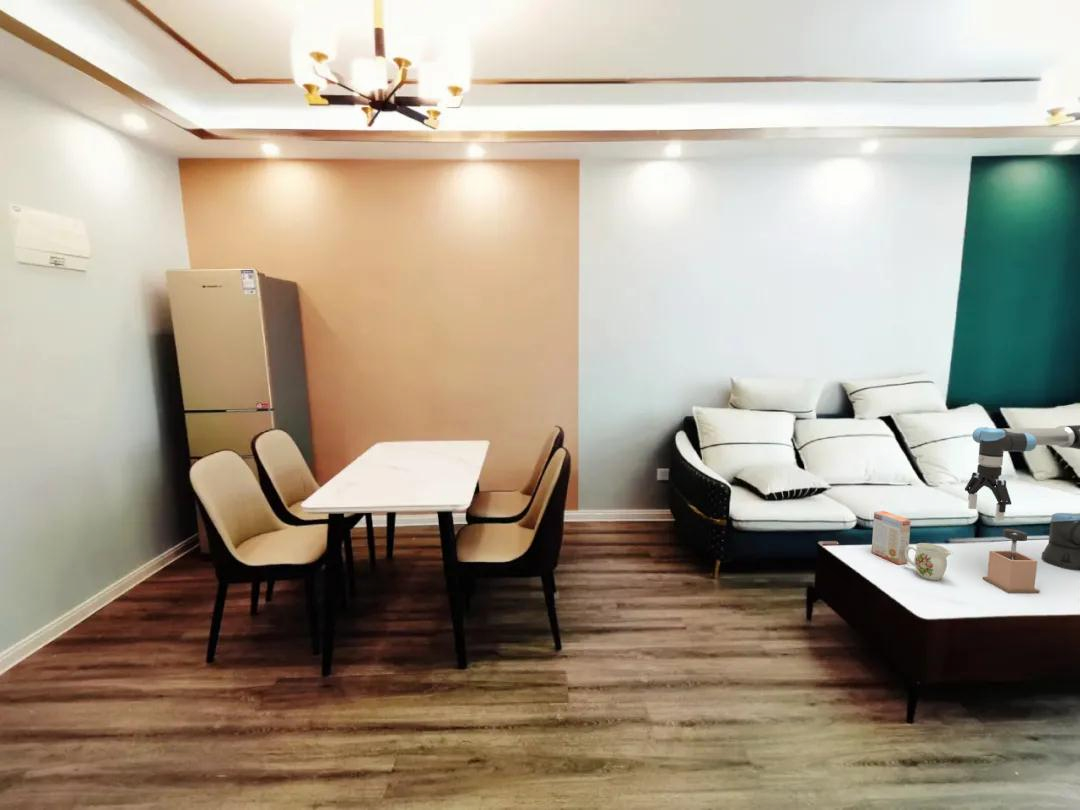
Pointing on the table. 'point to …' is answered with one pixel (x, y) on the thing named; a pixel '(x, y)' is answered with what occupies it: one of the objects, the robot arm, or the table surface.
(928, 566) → the pitcher
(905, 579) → the table surface
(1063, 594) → the table surface
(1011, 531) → the plunger
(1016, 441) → the robot arm
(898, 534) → the cracker box
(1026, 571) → the open square box
